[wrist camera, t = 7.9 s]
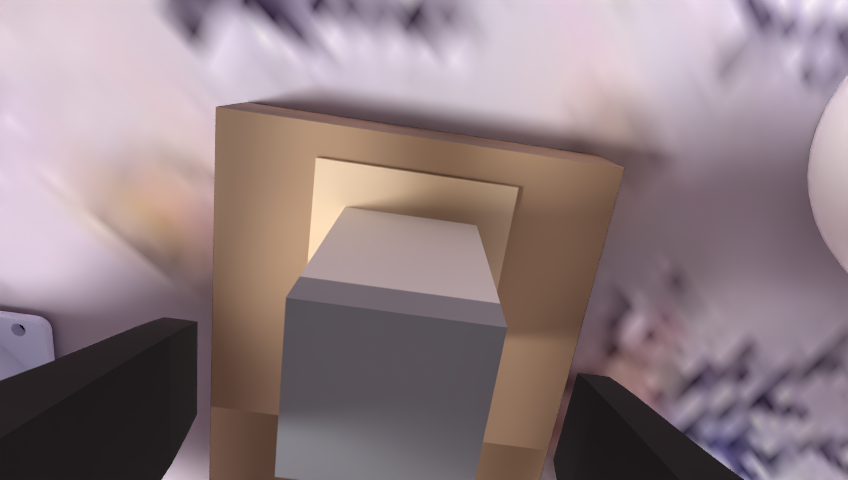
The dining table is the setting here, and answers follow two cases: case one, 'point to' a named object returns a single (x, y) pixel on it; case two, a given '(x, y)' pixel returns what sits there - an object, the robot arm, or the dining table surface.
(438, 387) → the plug
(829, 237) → the lidded jar
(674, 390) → the dining table surface
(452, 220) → the board
